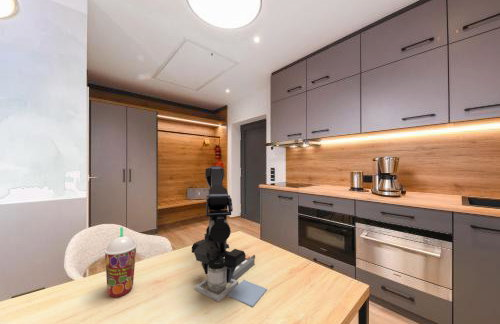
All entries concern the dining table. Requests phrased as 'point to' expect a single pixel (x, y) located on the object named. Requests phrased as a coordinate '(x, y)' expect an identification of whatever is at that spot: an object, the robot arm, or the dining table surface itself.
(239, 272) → the grey frame with handle
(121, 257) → the smoothie
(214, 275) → the camera lens
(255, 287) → the mat
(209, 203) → the robot arm
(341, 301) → the dining table surface
